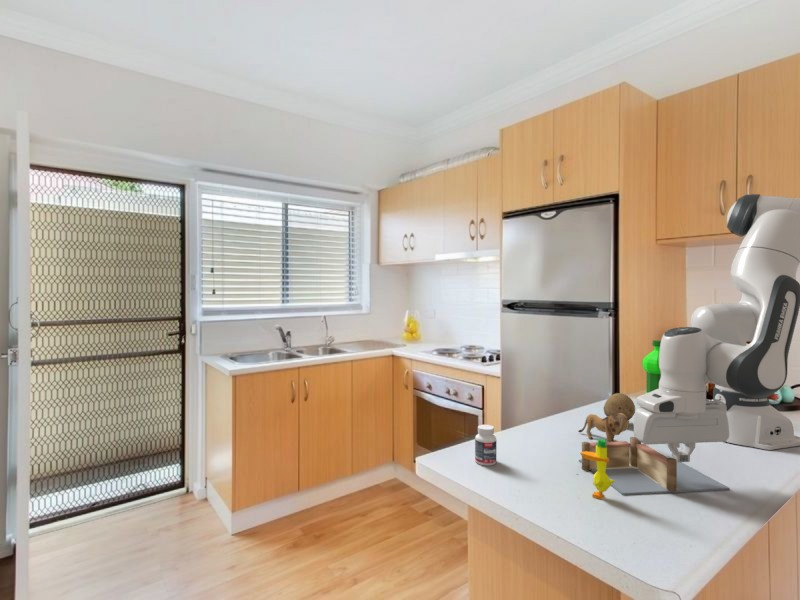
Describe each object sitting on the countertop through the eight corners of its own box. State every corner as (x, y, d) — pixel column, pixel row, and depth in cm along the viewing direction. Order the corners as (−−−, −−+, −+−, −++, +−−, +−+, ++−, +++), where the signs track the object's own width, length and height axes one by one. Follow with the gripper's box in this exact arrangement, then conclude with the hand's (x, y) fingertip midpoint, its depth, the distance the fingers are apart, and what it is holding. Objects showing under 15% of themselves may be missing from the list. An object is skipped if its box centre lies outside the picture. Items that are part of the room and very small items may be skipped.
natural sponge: (637, 430, 130) (637, 397, 130) (605, 427, 133) (605, 395, 133) (632, 421, 139) (632, 391, 139) (602, 419, 142) (602, 389, 142)
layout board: (669, 457, 109) (669, 455, 109) (729, 489, 91) (729, 487, 91) (579, 461, 107) (579, 459, 107) (622, 495, 89) (622, 492, 89)
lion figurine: (632, 445, 117) (632, 413, 117) (623, 449, 114) (623, 416, 114) (582, 431, 129) (582, 402, 129) (572, 435, 126) (572, 405, 126)
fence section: (637, 465, 104) (637, 436, 104) (643, 469, 102) (643, 440, 102) (579, 467, 103) (579, 438, 103) (584, 471, 100) (584, 442, 100)
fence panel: (636, 467, 101) (636, 441, 101) (644, 467, 101) (644, 440, 101) (669, 491, 89) (670, 461, 89) (678, 491, 89) (678, 460, 89)
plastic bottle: (640, 411, 150) (640, 341, 150) (646, 405, 158) (646, 338, 158) (673, 416, 144) (673, 343, 143) (678, 410, 152) (678, 340, 151)
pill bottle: (484, 467, 103) (483, 431, 103) (471, 460, 108) (470, 425, 108) (500, 463, 106) (500, 428, 106) (487, 456, 110) (487, 422, 110)
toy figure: (578, 494, 89) (578, 437, 89) (583, 488, 92) (583, 433, 92) (612, 504, 85) (612, 445, 85) (617, 498, 88) (617, 440, 87)
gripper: (714, 395, 98) (713, 454, 99) (629, 397, 97) (629, 457, 98) (737, 402, 92) (736, 465, 93) (647, 405, 91) (646, 469, 91)
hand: (680, 461), depth 95 cm, fingers closed
